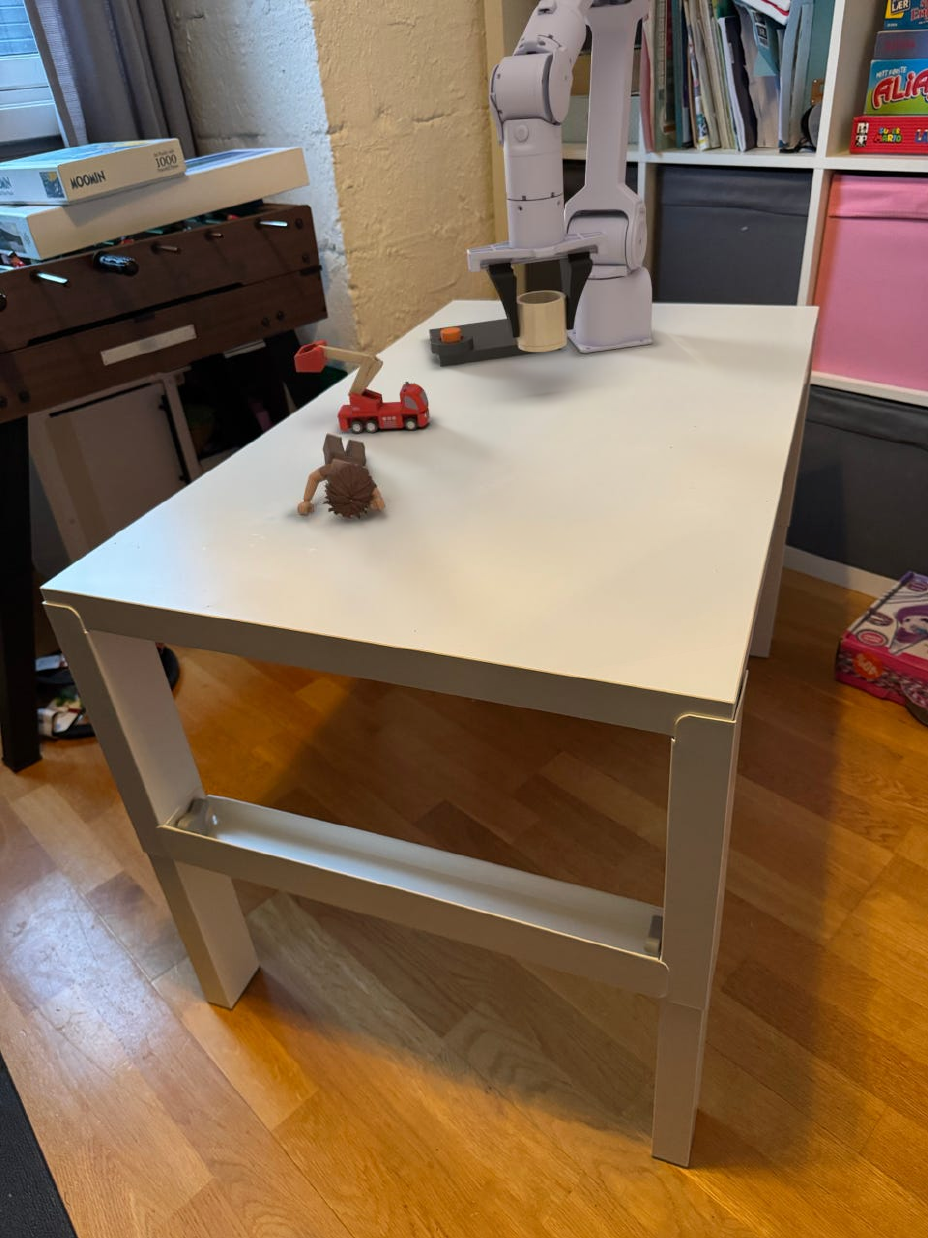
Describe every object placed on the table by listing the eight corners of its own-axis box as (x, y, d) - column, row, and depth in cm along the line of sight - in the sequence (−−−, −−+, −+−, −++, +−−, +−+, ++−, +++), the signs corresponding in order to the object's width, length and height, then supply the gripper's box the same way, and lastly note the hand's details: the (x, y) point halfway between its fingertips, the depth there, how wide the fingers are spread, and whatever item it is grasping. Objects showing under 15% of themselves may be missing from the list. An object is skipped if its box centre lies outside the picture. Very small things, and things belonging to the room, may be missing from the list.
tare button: (459, 336, 116) (458, 325, 115) (462, 342, 113) (461, 331, 113) (440, 339, 115) (439, 328, 115) (442, 344, 113) (441, 334, 113)
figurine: (302, 487, 93) (304, 545, 80) (283, 441, 90) (282, 493, 77) (375, 462, 93) (388, 516, 80) (358, 415, 90) (369, 463, 77)
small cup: (560, 333, 99) (558, 287, 96) (572, 348, 95) (571, 300, 92) (513, 340, 99) (510, 294, 96) (523, 355, 94) (520, 307, 92)
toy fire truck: (428, 430, 97) (418, 343, 92) (309, 436, 99) (291, 351, 94) (432, 418, 100) (422, 333, 95) (315, 424, 102) (299, 341, 96)
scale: (541, 325, 125) (540, 303, 123) (562, 352, 115) (561, 328, 113) (424, 341, 124) (422, 319, 122) (435, 370, 113) (432, 347, 112)
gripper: (469, 211, 85) (481, 351, 92) (616, 191, 86) (616, 332, 93) (459, 199, 90) (471, 332, 98) (597, 181, 91) (598, 314, 99)
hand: (541, 331), depth 96 cm, fingers closed on small cup, 5 cm apart
